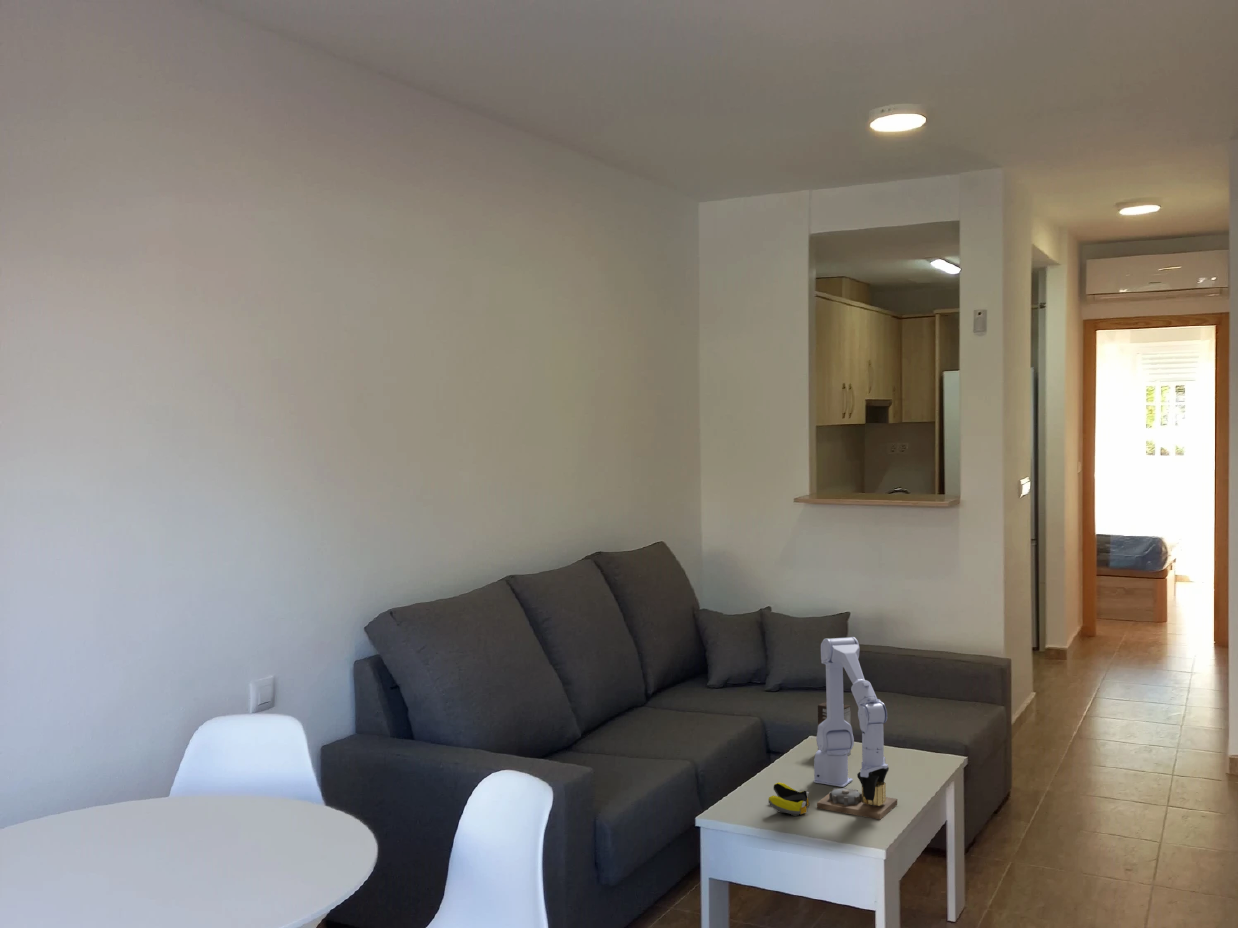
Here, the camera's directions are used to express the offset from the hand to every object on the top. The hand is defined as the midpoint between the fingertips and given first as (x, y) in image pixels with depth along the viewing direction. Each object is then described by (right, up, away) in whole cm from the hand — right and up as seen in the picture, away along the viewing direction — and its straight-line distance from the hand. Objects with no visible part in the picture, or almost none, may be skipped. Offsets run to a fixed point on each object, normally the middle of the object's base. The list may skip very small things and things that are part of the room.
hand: (873, 796), depth 296 cm
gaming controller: (-23, -5, +2) cm, 23 cm away
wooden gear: (0, -1, 0) cm, 1 cm away
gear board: (-4, -4, +4) cm, 6 cm away
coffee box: (0, -3, +54) cm, 54 cm away
